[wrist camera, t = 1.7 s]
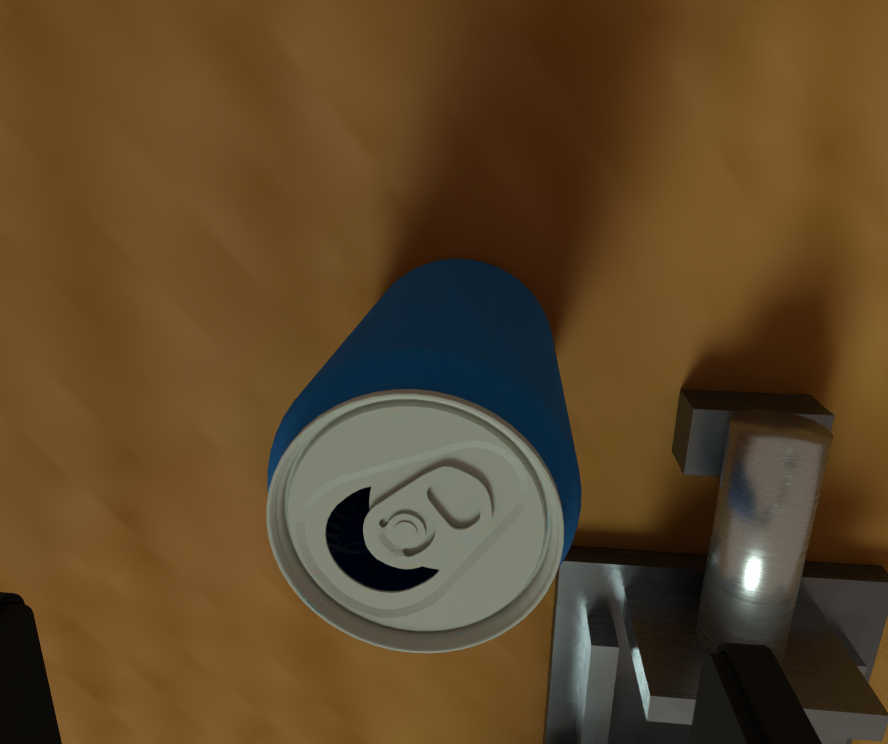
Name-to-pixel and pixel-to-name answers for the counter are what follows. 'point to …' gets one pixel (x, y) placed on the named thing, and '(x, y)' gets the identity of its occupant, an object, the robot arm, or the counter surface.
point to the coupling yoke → (721, 591)
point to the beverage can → (429, 466)
